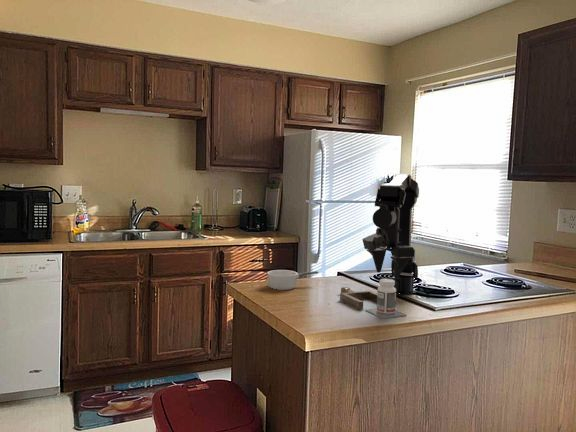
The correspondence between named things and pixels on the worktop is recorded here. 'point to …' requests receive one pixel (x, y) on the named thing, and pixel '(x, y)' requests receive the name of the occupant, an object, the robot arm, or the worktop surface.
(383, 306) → the pill bottle
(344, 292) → the ball knob bracket
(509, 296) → the worktop surface
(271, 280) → the saucepan
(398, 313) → the coaster
